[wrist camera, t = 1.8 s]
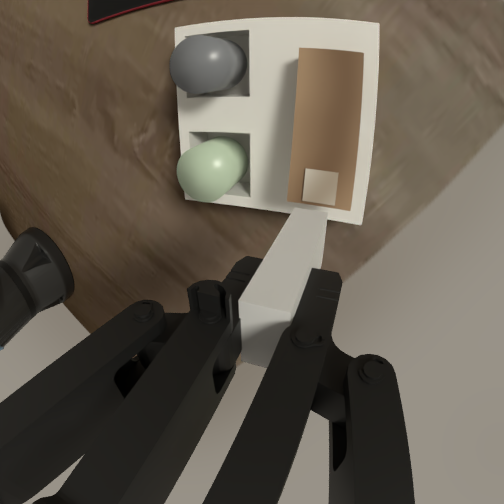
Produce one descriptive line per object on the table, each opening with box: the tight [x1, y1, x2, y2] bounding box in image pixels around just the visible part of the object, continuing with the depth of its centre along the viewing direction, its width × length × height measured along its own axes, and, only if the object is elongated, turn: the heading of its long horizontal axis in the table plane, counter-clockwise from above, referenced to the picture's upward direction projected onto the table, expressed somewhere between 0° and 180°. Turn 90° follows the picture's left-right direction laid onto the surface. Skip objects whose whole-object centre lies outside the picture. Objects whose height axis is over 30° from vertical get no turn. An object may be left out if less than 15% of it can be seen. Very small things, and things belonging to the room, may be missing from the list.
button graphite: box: [170, 35, 247, 94], centre depth 19 cm, size 4×4×4 cm
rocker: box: [287, 48, 364, 211], centre depth 18 cm, size 4×10×2 cm, turn 1°
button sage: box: [177, 136, 248, 202], centre depth 24 cm, size 4×4×4 cm
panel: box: [175, 17, 379, 225], centre depth 22 cm, size 15×15×5 cm
